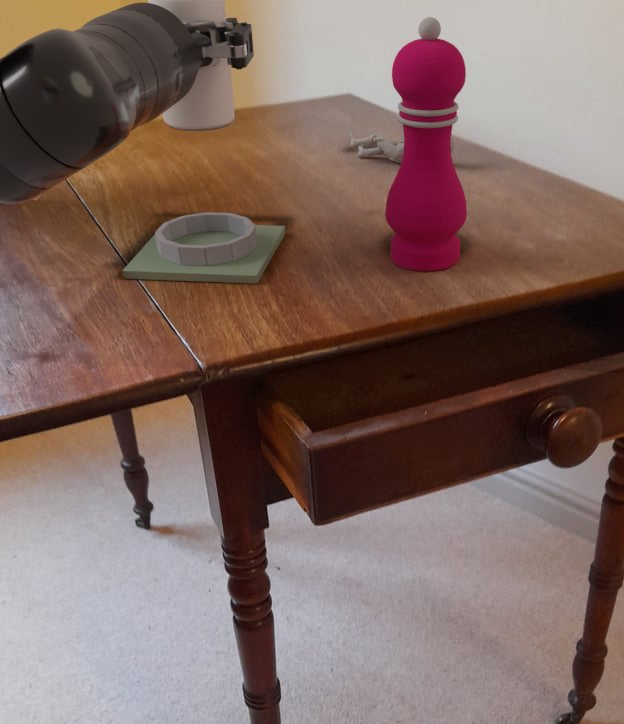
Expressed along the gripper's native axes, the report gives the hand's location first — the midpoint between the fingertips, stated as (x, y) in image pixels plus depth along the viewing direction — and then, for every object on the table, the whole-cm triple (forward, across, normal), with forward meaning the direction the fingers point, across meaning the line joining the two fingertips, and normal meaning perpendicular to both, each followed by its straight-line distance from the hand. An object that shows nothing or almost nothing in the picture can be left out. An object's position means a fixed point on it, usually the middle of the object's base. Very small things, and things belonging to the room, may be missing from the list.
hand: (196, 30), depth 78 cm
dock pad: (-9, -1, +18) cm, 20 cm away
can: (-2, 0, +8) cm, 8 cm away
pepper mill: (-8, -21, +18) cm, 29 cm away
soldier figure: (+21, -16, +18) cm, 32 cm away
